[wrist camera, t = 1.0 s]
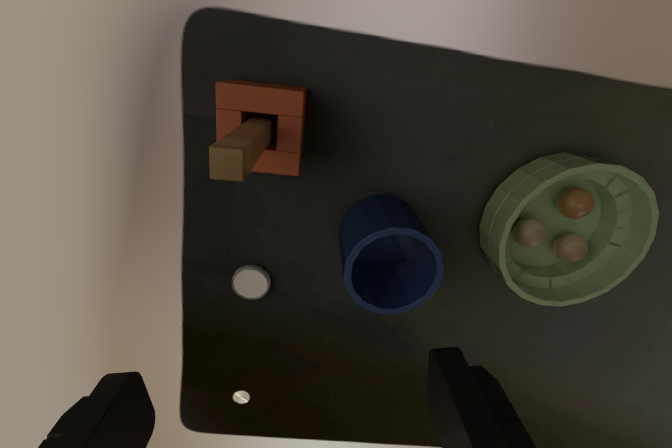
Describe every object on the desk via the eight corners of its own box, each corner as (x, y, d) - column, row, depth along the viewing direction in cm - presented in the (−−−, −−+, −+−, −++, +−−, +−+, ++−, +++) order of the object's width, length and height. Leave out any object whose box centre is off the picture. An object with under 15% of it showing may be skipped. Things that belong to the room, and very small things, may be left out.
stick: (260, 110, 31) (208, 146, 17) (279, 112, 31) (243, 149, 17) (260, 128, 32) (209, 179, 17) (278, 130, 32) (243, 182, 17)
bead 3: (551, 227, 36) (570, 239, 34) (579, 229, 37) (600, 242, 34) (541, 252, 38) (559, 267, 35) (568, 255, 38) (588, 269, 35)
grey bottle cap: (236, 298, 39) (235, 301, 38) (229, 266, 37) (228, 269, 37) (273, 294, 39) (272, 298, 38) (267, 262, 37) (266, 266, 37)
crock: (344, 191, 35) (350, 223, 27) (426, 198, 35) (454, 232, 28) (335, 264, 38) (338, 311, 30) (410, 270, 38) (431, 317, 31)
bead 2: (556, 181, 34) (576, 191, 32) (585, 184, 35) (607, 194, 32) (545, 210, 36) (564, 222, 33) (573, 213, 36) (594, 225, 33)
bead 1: (511, 211, 35) (528, 223, 33) (540, 213, 36) (558, 225, 33) (503, 238, 37) (517, 251, 34) (530, 240, 37) (547, 254, 34)
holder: (234, 79, 30) (214, 81, 25) (307, 87, 31) (304, 91, 25) (234, 151, 33) (217, 168, 27) (302, 158, 33) (298, 176, 28)
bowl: (499, 144, 33) (528, 155, 29) (639, 159, 34) (688, 172, 30) (462, 273, 39) (481, 301, 34) (583, 283, 40) (617, 310, 35)
